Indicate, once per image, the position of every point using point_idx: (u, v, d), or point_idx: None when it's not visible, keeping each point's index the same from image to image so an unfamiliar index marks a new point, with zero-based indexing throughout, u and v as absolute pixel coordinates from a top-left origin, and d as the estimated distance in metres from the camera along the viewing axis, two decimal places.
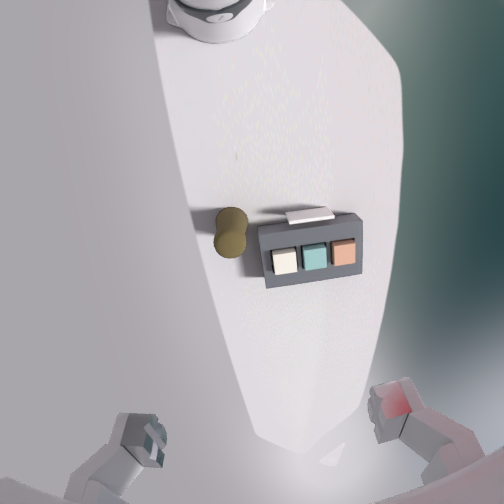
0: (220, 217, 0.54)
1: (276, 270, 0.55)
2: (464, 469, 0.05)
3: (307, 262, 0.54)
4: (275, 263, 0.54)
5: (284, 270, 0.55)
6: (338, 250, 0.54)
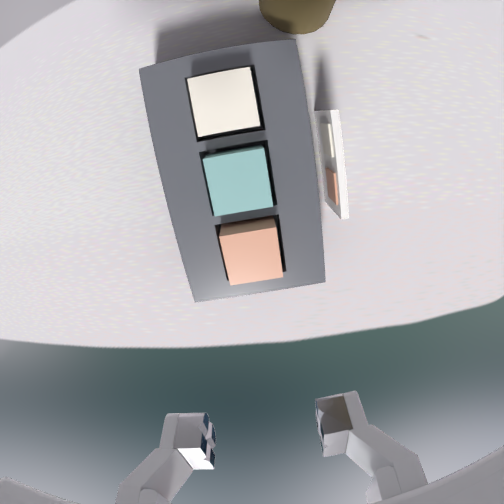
0: None
1: (201, 80, 0.17)
2: (464, 469, 0.05)
3: (228, 160, 0.19)
4: (223, 73, 0.17)
5: (202, 101, 0.18)
6: (264, 239, 0.22)
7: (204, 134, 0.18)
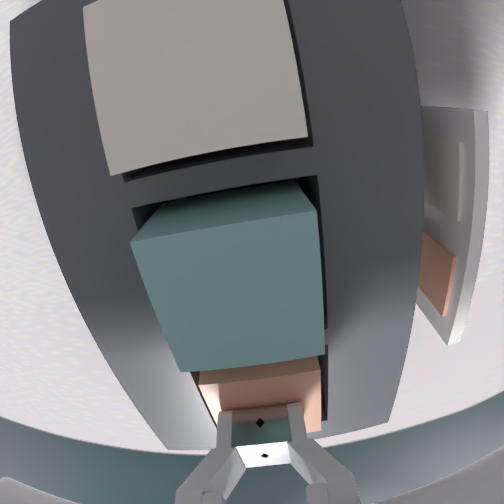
0: None
1: (121, 1, 0.04)
2: (464, 469, 0.05)
3: (205, 247, 0.06)
4: None
5: (118, 61, 0.05)
6: (293, 389, 0.10)
7: (127, 167, 0.06)
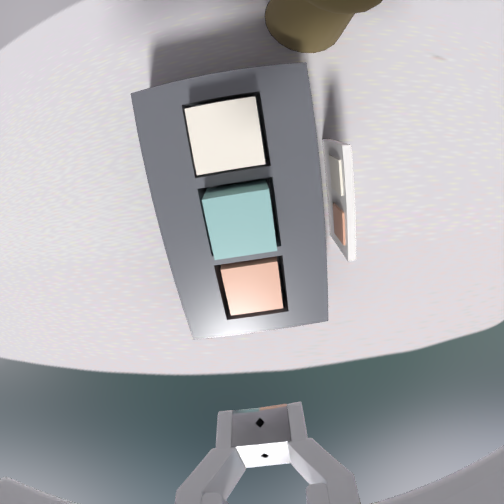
0: None
1: (200, 110, 0.16)
2: (464, 469, 0.05)
3: (230, 201, 0.18)
4: (225, 103, 0.16)
5: (201, 135, 0.16)
6: (265, 273, 0.22)
7: (203, 172, 0.17)
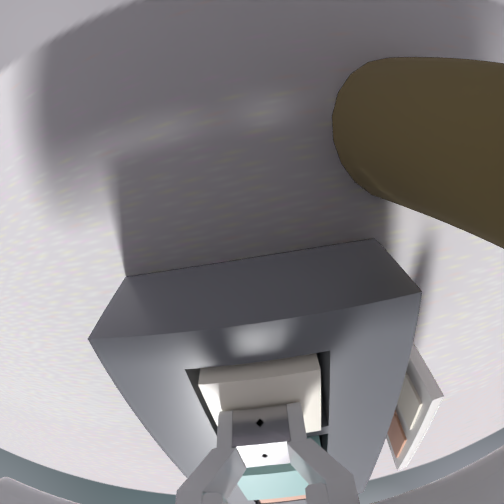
0: None
1: (226, 387, 0.09)
2: (464, 469, 0.05)
3: (270, 476, 0.11)
4: (269, 381, 0.09)
5: None
6: None
7: None
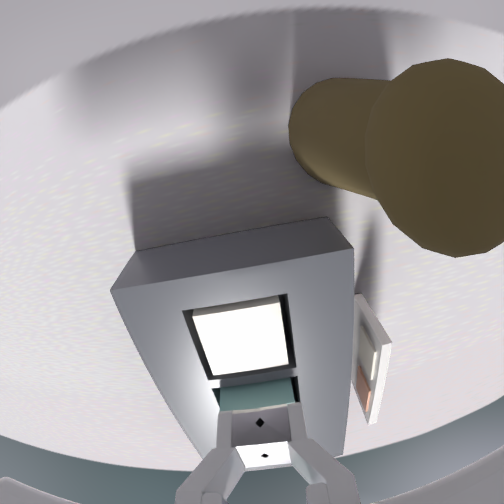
0: None
1: (212, 318, 0.14)
2: (464, 469, 0.05)
3: None
4: (243, 312, 0.14)
5: (215, 342, 0.14)
6: None
7: (220, 373, 0.15)
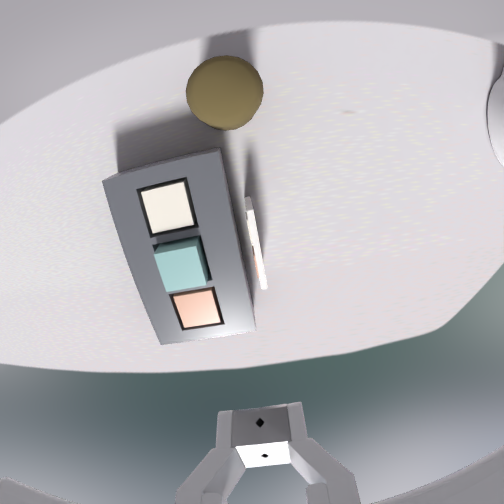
0: None
1: (151, 193, 0.26)
2: (464, 469, 0.05)
3: (171, 255, 0.27)
4: (165, 188, 0.26)
5: (152, 208, 0.27)
6: (204, 298, 0.31)
7: (156, 231, 0.27)
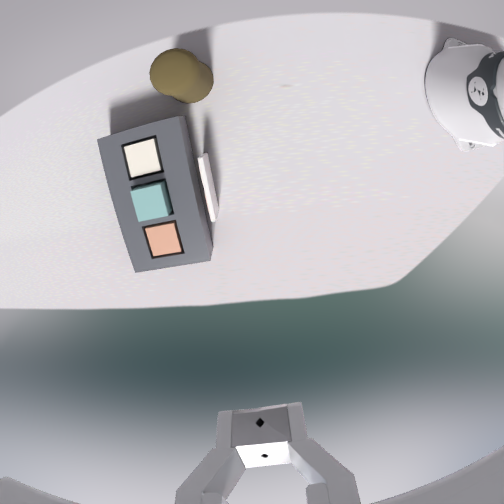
0: (201, 63, 0.32)
1: (131, 147, 0.34)
2: (464, 469, 0.05)
3: (143, 191, 0.35)
4: (141, 143, 0.34)
5: (131, 158, 0.34)
6: (168, 230, 0.39)
7: (134, 175, 0.35)
